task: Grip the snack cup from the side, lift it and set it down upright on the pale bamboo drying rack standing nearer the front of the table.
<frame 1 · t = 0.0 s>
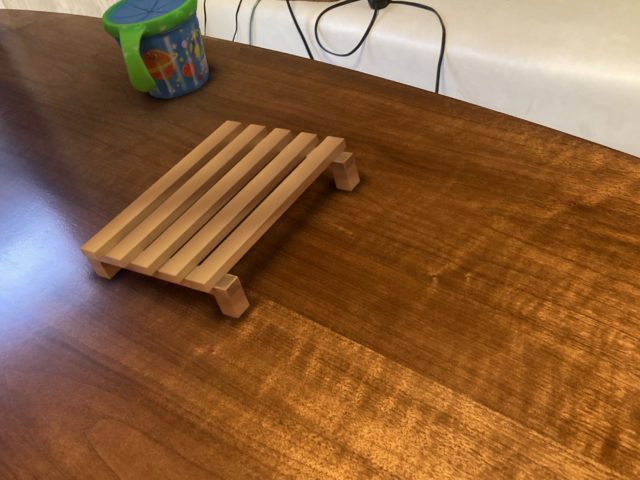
snack cup: (181, 88, 93), on the table
rack: (233, 231, 69), on the table
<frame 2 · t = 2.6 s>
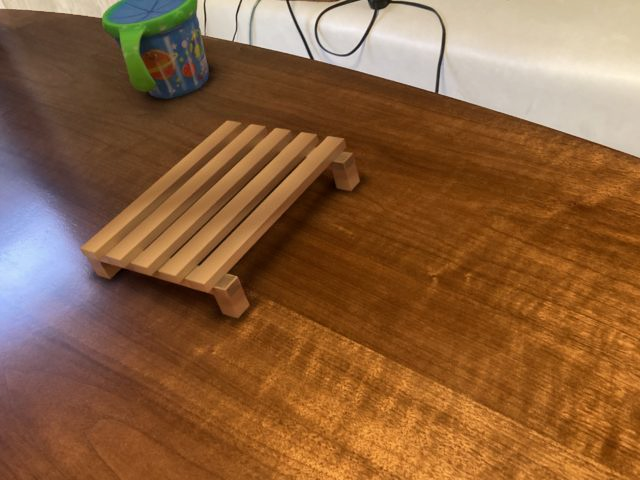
nothing on the table moved.
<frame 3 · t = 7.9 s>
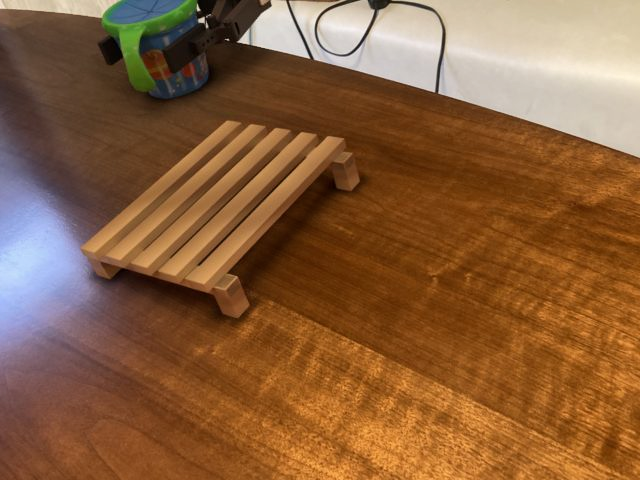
hand: (135, 58, 86), 6 cm above the table, tool horizontal, fingers closed on snack cup, 9 cm apart
snack cup: (181, 88, 93), on the table, touching gripper
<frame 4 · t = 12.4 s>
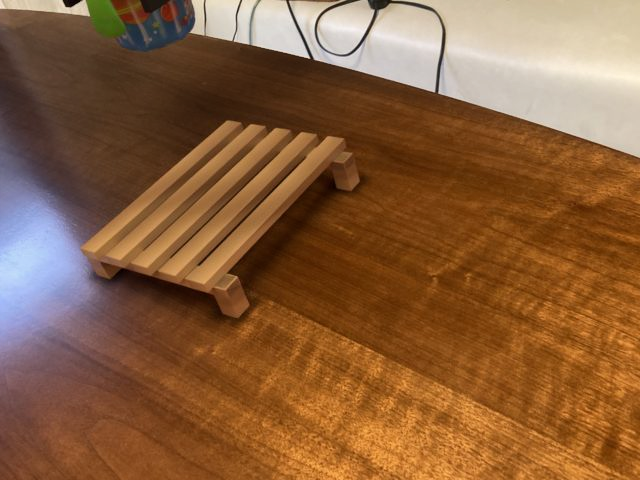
snack cup: (160, 38, 74), point 12 cm above the table, touching gripper
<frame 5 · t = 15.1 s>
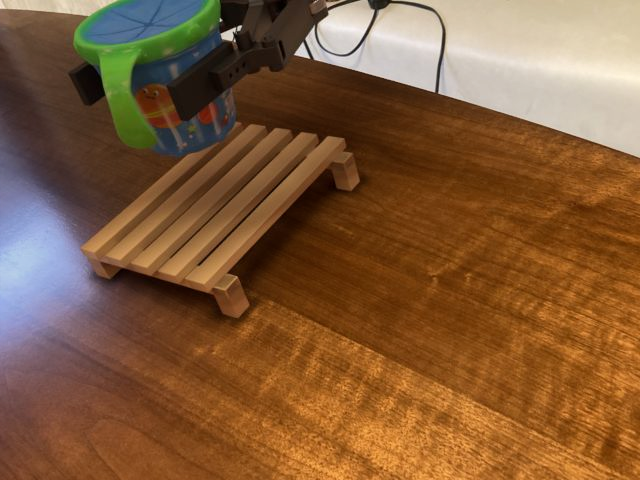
hand: (126, 96, 56), 16 cm above the table, tool horizontal, fingers closed on snack cup, 9 cm apart
snack cup: (195, 136, 63), point 10 cm above the table, touching gripper
when the fingers open (10 cm above the table, at t = 17.2 s): snack cup stays where it is, resting on rack.
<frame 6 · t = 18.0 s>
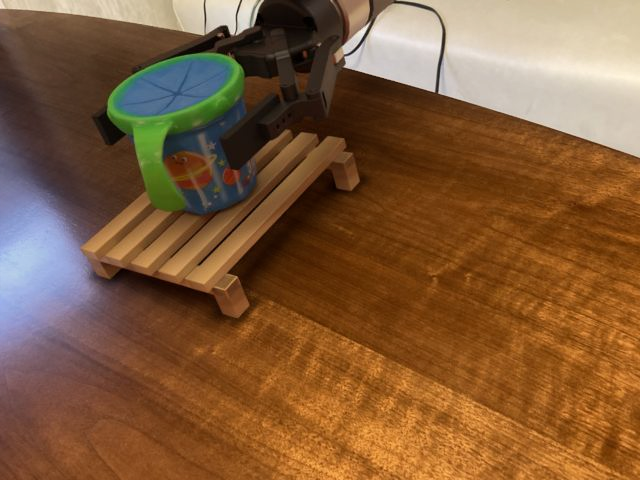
hand: (161, 142, 60), 11 cm above the table, tool horizontal, fingers open, 13 cm apart
snack cup: (218, 192, 66), point 4 cm above the table, touching rack
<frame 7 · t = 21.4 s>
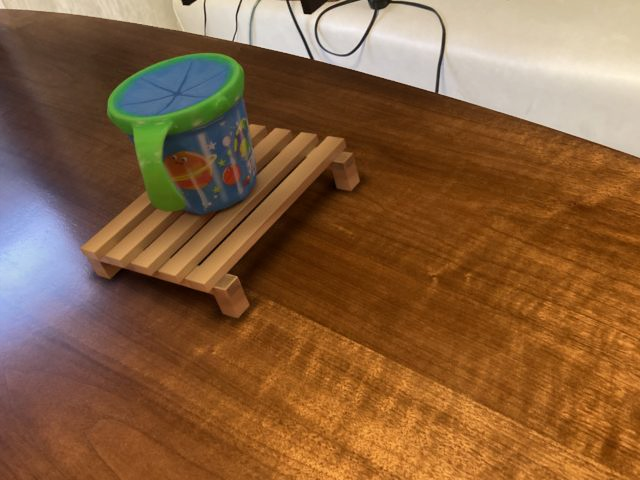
nothing on the table moved.
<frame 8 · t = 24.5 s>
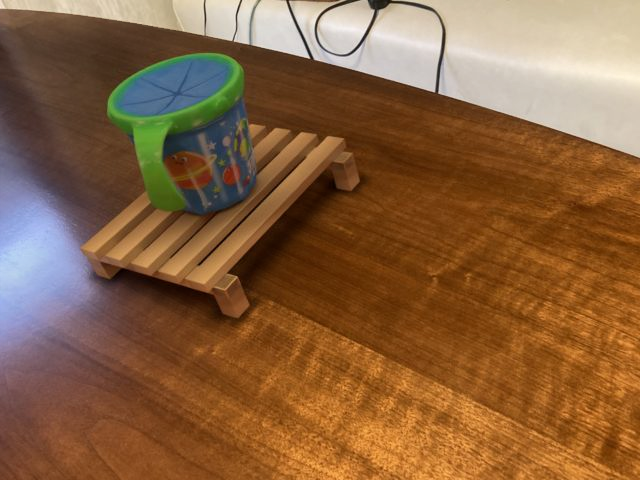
nothing on the table moved.
at the end: snack cup inside the target area on the rack (0.0 cm from its centre), point 4.3 cm above the rack's base; snack cup tilted 0°; the gripper is holding nothing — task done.
